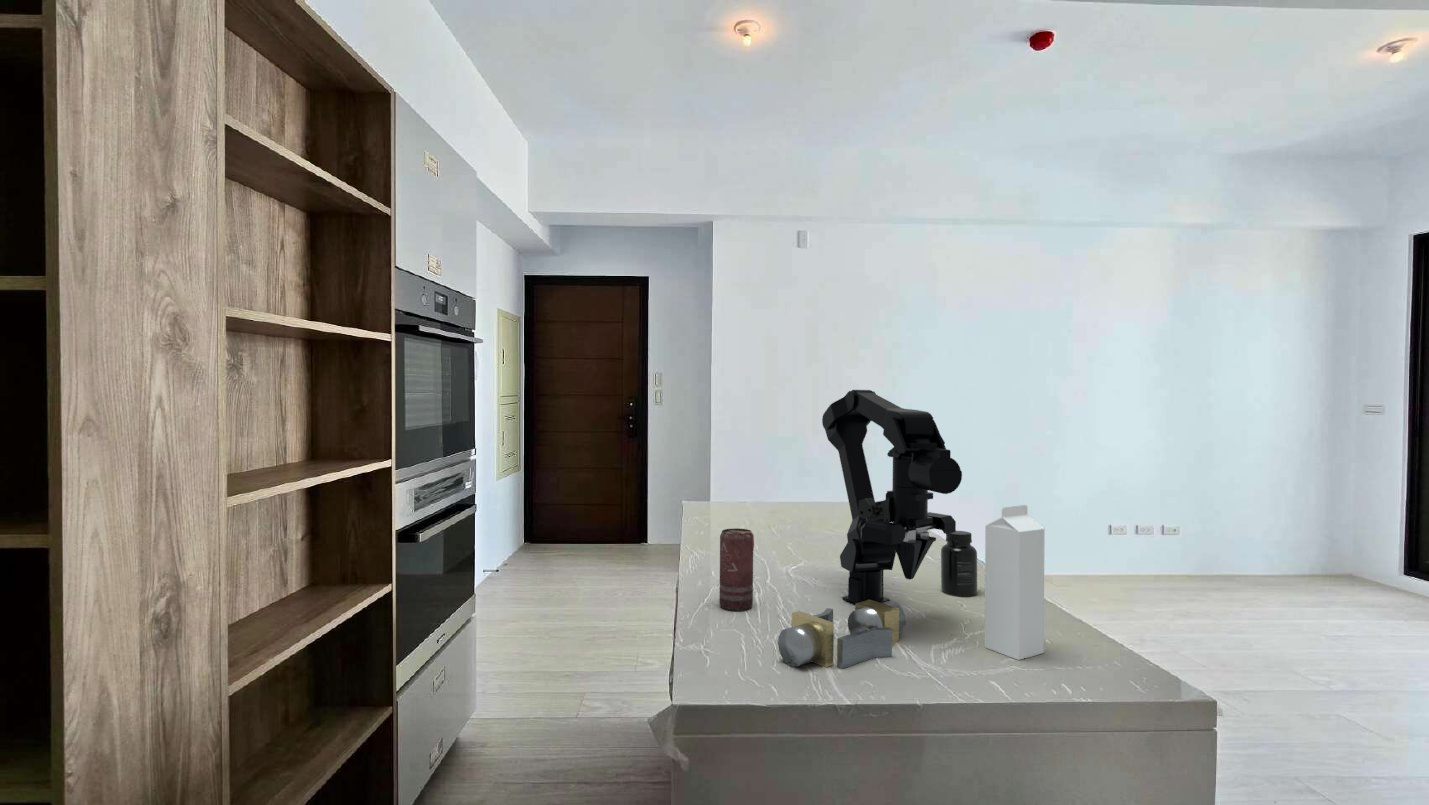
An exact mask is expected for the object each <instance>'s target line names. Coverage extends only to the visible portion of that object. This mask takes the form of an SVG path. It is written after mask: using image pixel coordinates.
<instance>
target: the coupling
mask: <svg viewBox="0 0 1429 805" xmlns="http://www.w3.org/2000/svg"><path fill="white" fill-rule="evenodd" d="M834 624H835V623H834V608H828V607H827V608H826V609H825V610H823V612H821V613H818V614H817V613H816V614H814V615H812V614H809V613H807V612H804V611H801V610H798V611H795V612H791V627H788V628H784V629H781V631H780V633H779V635H778V639H777V646H778V651H779V653H780V656H781V658H782V660H783V661H784V662H785V663H786V664H787V665H788V666H790V667H799V666H802V665H805V664H808V663H811V662H812V663H814V664H817V665H819V666H822V667H824V668H829V667H830V666H834V647H835V646H834V643H835V642H834V640H835V638H834V636H835V635H834V634H835V633H834V630H835V629H834V628H835V627H834V626H835V625H834ZM836 642H837V643H836V644H837V646H836V647H837V648H836V653H837V654H836V667H837V668H840V669H843V670H844V669H846V668H848V667H851V666H855V665H858V664H859V663H863V662H865V661H868V660H871V659H873V658H874V659H876V658H889V657H893V643H892V629H891V628H890V627H885V628H870V629H866V630H862V631H859V632H856V633H853V634H850V633H849V634H846V635H844V636H843V635H842V636H840V637H837V640H836Z"/></svg>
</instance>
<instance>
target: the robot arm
mask: <svg viewBox="0 0 1429 805" xmlns="http://www.w3.org/2000/svg"><path fill="white" fill-rule="evenodd" d="M821 422H822V423H821V424H822V427H823V429H824V431H825V435H826V438H827V440H828V441H829V442H830V443H829V444H831V445H832V446H833V447H834V448H835V449H836V450H837V452H838V456H839V461H840V465H841V466H840V467H841V471H842V474H843V475H842V476H843V480H844V485H845V489H846V494H847V495H846V496H847V499H848V504H849V509H850V510H849V511H850V514H851V523H850V526H849V528H848V531H847V533H846V534H847V535H846V537H847V543H846V545H845V547H843V549H842V551H841V553H840V556H839V560H840V567H841V568H842V569H845V570H846V571H848V581H847V582H848V586H847V590H848V591H847V592H848V594H847V595H845V596H843V597H842V600H843V601H847V602H850V603H854V604H855V603H859V602H863V601H867V600H873V601H876V602H879V603H883V602H887V601H891V599H890V598H888V597H884V571H886V570H887V571H892V570H893V568H894V563H895V558H896V556H897V557H898V560H899V564H900V566H901V570H902V573H903V576H904V578H905V579H906V580H913V579H914V578H915V576H916V574H917V572H918V570H919V568H920V566H921V564H922V562H923V561H924V559H925V557H926V555H927V553H928V552H929V550H930V548H931V547H932V545H933V543H934V542H936V541H937V537H935V536H930V532H929V530H939V531H942V532H943V534H945V535H946V534H949V533H954V532H956V531H957V530H956V528H957V527H956V526H957V523H956V520H955V519H954V518H953V516H952V515H951V514H950V515H949V514H943V513H938V512H931V511H928V506H929V505H928V504H929V503H928V502H929V501H928V500H933V499H934V493H937V494H942V495H948V494H951V493H953V492H955V491H956V490H957V489H958V487H960V485H961V482H962V480H963V479H962V478H963V471H962V470H961V467H960V464H959V463H958V462H957V461H956V460H955V459H954V458H952V457H951V450H950V449H947V447H946V445H945V444H946V442H945V440H944V439H943V436H942V435H941V434H940V431H939V428H938V425H937V423H936V421H935V420H934V417H933V415H932V413H930V412H929V411H925V410H924V411H923V410H919V409H911V408H910V409H909V408H902V407H901V406H899V405H896V404H895V403H894V402H891V401H890V400H888V399H886V398H884V397H882V396H880V395H878V394H877V393H876V392H875V391H872V390H870V389H852V390H849V391H847V393H846V394H845V395H844V396H842V397H841V398H839V399H837V400H836V401H833V402H831V404H829V405H828V407H827V409H826V410H825V411H824V413H823V415H822V419H821ZM871 422H873V423H875V425H877V426H879V427H880V428H882V429H883V431H882V432H883V433H882V435H883V437H885V439H887V441H888V442H890V444H891V445H892V446H893V447H892V448H891V449H890V450H888V452H887V453H886V454H887V457H888V458H892V490H886V493H885V499H884V500H879V501H876V499H875V495H874V491H873V488H872V482H871V477H870V474H869V469H868V464H867V460H866V455H865V451H864V447H863V443H864V440H865V439H866V436H867V433H868V426H869V425H870V423H871Z"/></svg>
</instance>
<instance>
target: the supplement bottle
mask: <svg viewBox="0 0 1429 805" xmlns="http://www.w3.org/2000/svg"><path fill="white" fill-rule="evenodd" d="M945 541H946V542H947V543H946V544H944V545H943V546H942V547H941V549H940V583H941V584H940V586H941V591H942V592H943V593H945V594H947V595H949V596H955V597H956V596H957V597H972V596H975V595H976V594H977V593H978V550H977V549H976V548H975V547H974V546H973V545H972V544H971V543H973V541H972V532H969V531H965V530H964V531H963V530H956V532H954V533H949V534H945Z"/></svg>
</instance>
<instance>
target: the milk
mask: <svg viewBox="0 0 1429 805" xmlns="http://www.w3.org/2000/svg"><path fill="white" fill-rule="evenodd" d="M984 532H985V533H984V534H985V537H984V538H985V539H984V540H985V544H984V546H985V548H984V549H985V550H984V551H985V553H984V556H985V557H984V561H985V562H984V563H985V564H984V565H985V566H984V648H986V649H988V650H989V651H990V650H991V651H993V652H996V653H999V654H1001V655H1003V656H1005V657H1009V658H1011V659H1014V660H1016V661H1020V660H1024V658H1025V659H1028V658H1031V657H1035V656H1039V655H1042V654H1044V653H1045V534H1046V533H1045V528H1044V527H1043V526H1042V525H1041V524H1040V523H1038V522H1037V521H1036V520H1035V519H1033V518H1032V517H1031V516H1030V515H1029V514H1028V505H1026V504H1024V505H1023V504H1022V505H1021V504H1019V505H1011V506H1003V507H1002V508H1001V517H1000V518H997V519H995V520H993V521H991V522H990V523H988V524H986V525H985V530H984Z"/></svg>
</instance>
